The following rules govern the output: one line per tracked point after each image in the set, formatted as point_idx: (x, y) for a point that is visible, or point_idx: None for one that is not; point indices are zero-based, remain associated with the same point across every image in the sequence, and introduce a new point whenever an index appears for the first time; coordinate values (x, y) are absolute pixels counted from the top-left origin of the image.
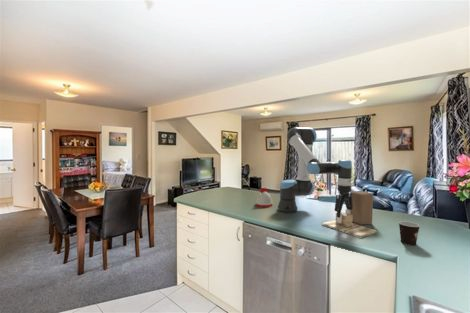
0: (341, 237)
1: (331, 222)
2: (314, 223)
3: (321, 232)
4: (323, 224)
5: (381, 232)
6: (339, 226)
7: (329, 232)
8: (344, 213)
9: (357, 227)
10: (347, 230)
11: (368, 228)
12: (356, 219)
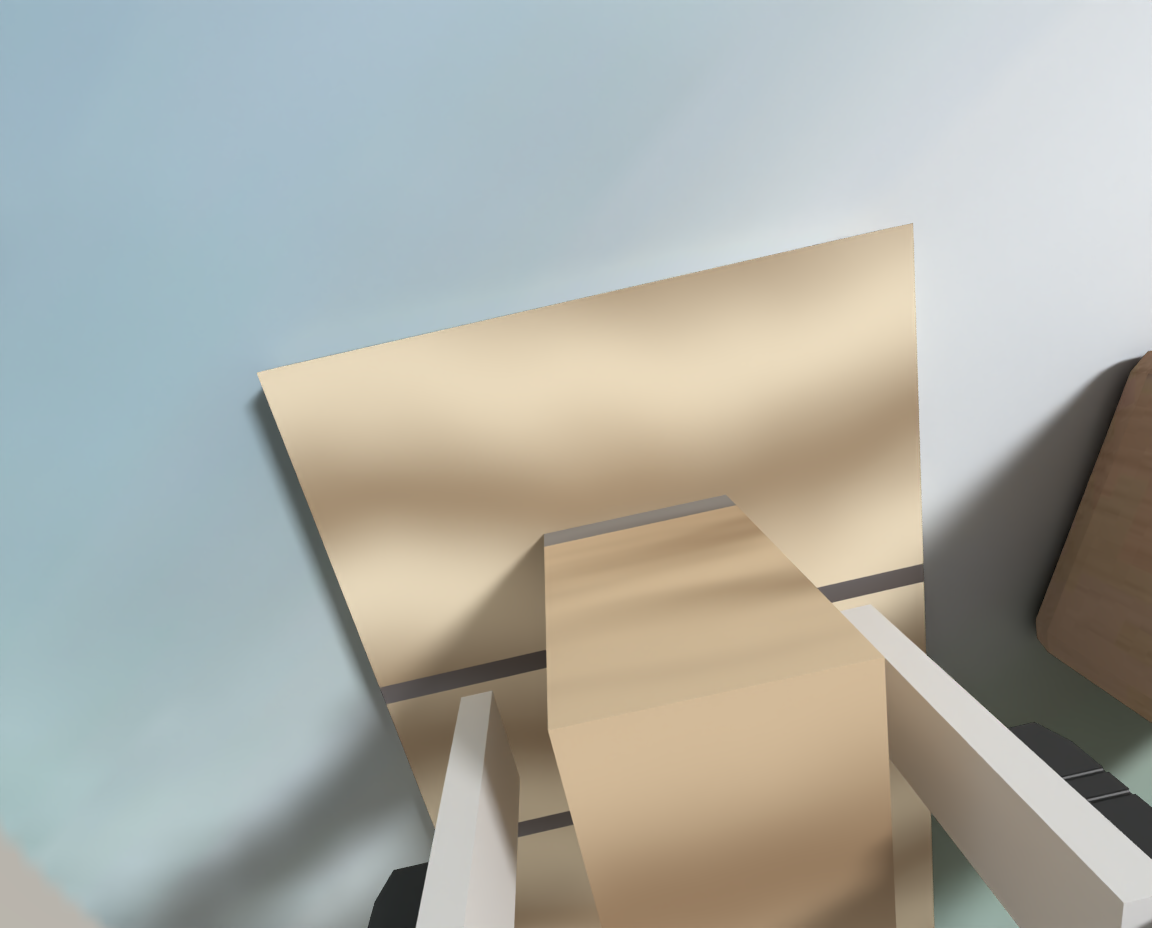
0: (248, 921)
1: (540, 408)
2: (147, 181)
3: (15, 698)
4: (280, 410)
5: (972, 920)
6: (511, 668)
7: (178, 736)
8: (832, 839)
9: None
10: None
11: (909, 866)
12: (1140, 602)
